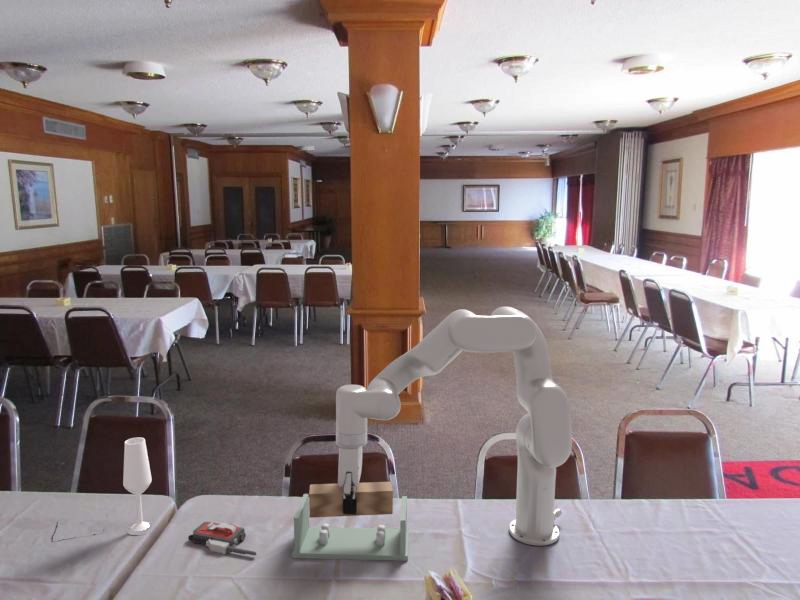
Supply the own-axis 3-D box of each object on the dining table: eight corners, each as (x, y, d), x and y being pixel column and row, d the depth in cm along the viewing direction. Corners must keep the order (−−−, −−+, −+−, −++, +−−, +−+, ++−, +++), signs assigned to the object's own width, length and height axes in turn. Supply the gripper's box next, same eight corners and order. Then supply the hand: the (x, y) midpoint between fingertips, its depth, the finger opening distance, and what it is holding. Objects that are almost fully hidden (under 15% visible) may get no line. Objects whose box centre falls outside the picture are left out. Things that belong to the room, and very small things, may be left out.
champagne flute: (120, 532, 153) (114, 443, 149) (140, 520, 159) (135, 434, 155) (140, 538, 150) (134, 447, 147) (160, 525, 156) (155, 438, 153)
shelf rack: (409, 533, 153) (409, 496, 151) (407, 560, 141) (408, 520, 140) (302, 530, 154) (301, 493, 153) (292, 557, 142) (291, 517, 141)
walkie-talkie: (182, 547, 147) (253, 561, 141) (181, 530, 146) (253, 544, 141) (204, 529, 155) (272, 542, 149) (203, 513, 155) (271, 526, 149)
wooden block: (309, 517, 143) (309, 494, 142) (310, 507, 147) (310, 484, 147) (392, 514, 145) (392, 490, 144) (390, 504, 150) (390, 481, 149)
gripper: (341, 423, 152) (340, 490, 155) (330, 450, 135) (330, 524, 138) (370, 424, 152) (369, 491, 154) (363, 451, 135) (363, 526, 137)
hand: (351, 506), depth 146 cm, fingers closed on wooden block, 5 cm apart
